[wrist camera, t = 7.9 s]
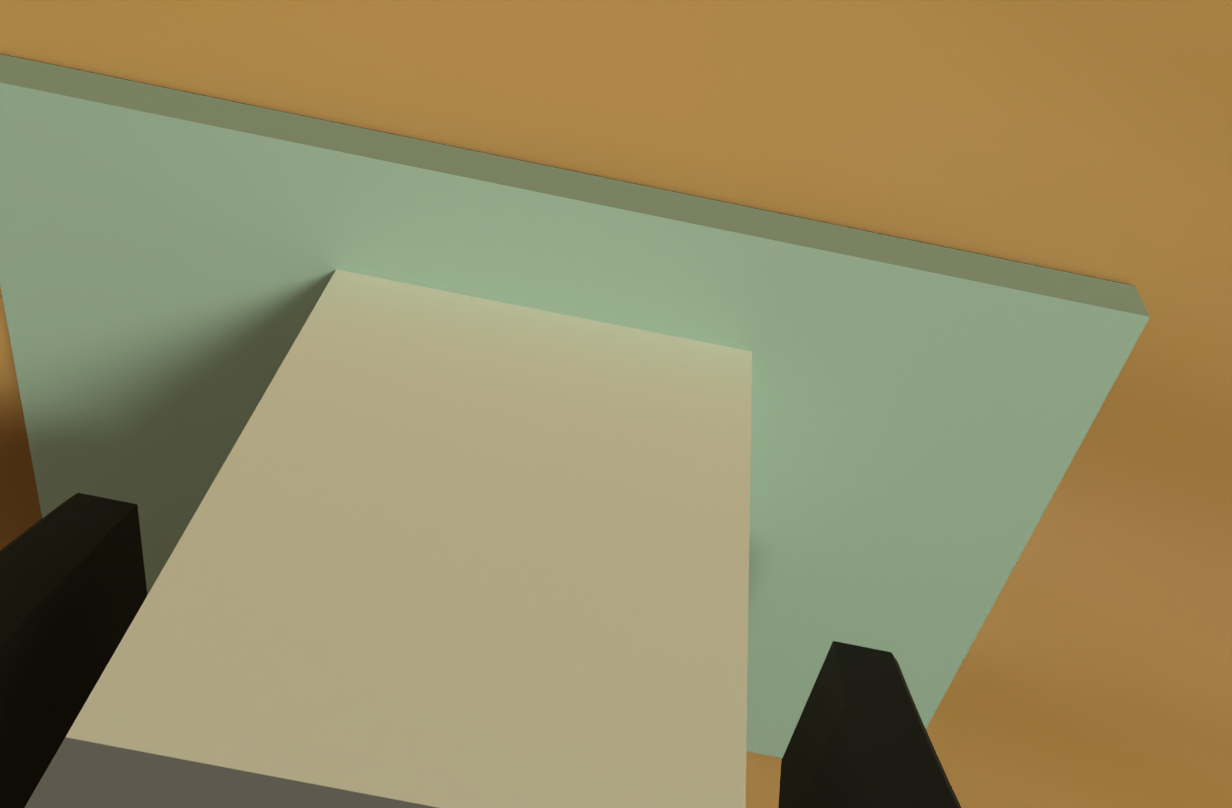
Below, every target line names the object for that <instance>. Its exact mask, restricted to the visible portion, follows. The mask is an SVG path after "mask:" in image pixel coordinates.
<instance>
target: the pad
mask: <svg viewBox="0 0 1232 808" xmlns="http://www.w3.org/2000/svg"><path fill="white" fill-rule="evenodd" d="M336 270H341V271H346V272H351V273H356V274H361V275H367V276H372V277H377V278H382V279H387V280H392V281H397V282H402V283H407V284H412V285H417V286H422V287H427V288H432V289H437V290H442V291H447V292H453V293H458V294H463V295H468V296H473V297H478V298H483V299H488V300H493V301H498V302H503V303H508V304H513V305H518V306H523V307H528V308H534V309H539V310H544V311H549V312H554V313H559V314H564V315H569V316H574V317H579V318H584V319H589V320H594V321H599V322H604V323H609V324H614V325H620V326H625V327H630V328H635V329H640V330H645V331H650V332H655V333H660V334H665V335H670V336H675V337H680V338H685V339H690V340H695V341H700V342H706V343H711V344H716V345H721V346H726V347H731V348H736V349H741V350H746V351H751V352H752V398H751V466H750V534H749V602H748V670H747V737H746V751H748V752H753V753H758V754H764V755H769V756H774V757H779V758H783V756H784V753H785V751H786V749H787V746H788V744H789V742H790V739H791V737H792V735H793V732H794V730H795V728H796V725H797V723H798V721H799V719H800V716H801V714H802V712H803V709H804V707H805V705H806V702H807V700H808V698H809V695H810V693H811V691H812V688H813V686H814V684H815V681H816V679H817V677H818V675H819V672H820V670H821V668H822V665H823V663H824V661H825V658H826V656H827V654H828V651H829V649H830V647H831V644H832V642H833V641H836V642H842V643H847V644H852V645H857V646H862V647H867V648H872V649H877V650H882V651H887V652H891V653H892V654H893V656H894V657H895V659H896V660H897V661H898V664H899V666H900V669H901V671H902V674H903V676H904V679H905V681H906V684H907V686H908V688H909V691H910V693H911V696H912V698H913V701H914V703H915V705H916V708H917V710H918V712H919V715H920V717H921V720H922V722H923V724H924V727H925V729H926V728H927V726H928V724H929V722H930V720H931V718H932V717H933V715H934V713H935V711H936V709H937V707H938V706H939V704H940V702H941V700H942V698H943V696H944V695H945V693H946V691H947V689H948V687H949V685H950V684H951V682H952V680H953V678H954V676H955V674H956V672H957V671H958V669H959V667H960V665H961V663H962V661H963V660H964V658H965V656H966V654H967V652H968V650H969V649H970V647H971V645H972V643H973V641H974V639H975V638H976V636H977V634H978V632H979V630H980V628H981V627H982V625H983V623H984V621H985V619H986V617H987V615H988V614H989V612H990V610H991V608H992V606H993V604H994V603H995V601H996V599H997V597H998V595H999V593H1000V592H1001V590H1002V588H1003V586H1004V584H1005V582H1006V581H1007V579H1008V577H1009V575H1010V573H1011V571H1012V570H1013V568H1014V566H1015V564H1016V562H1017V560H1018V558H1019V557H1020V555H1021V553H1022V551H1023V549H1024V547H1025V546H1026V544H1027V542H1028V540H1029V538H1030V536H1031V535H1032V533H1033V531H1034V529H1035V527H1036V525H1037V524H1038V522H1039V520H1040V518H1041V516H1042V514H1043V512H1044V511H1045V509H1046V507H1047V505H1048V503H1049V501H1050V500H1051V498H1052V496H1053V494H1054V492H1055V490H1056V489H1057V487H1058V485H1059V483H1060V481H1061V479H1062V478H1063V476H1064V474H1065V472H1066V470H1067V468H1068V467H1069V465H1070V463H1071V461H1072V459H1073V457H1074V455H1075V454H1076V452H1077V450H1078V448H1079V446H1080V444H1081V443H1082V441H1083V439H1084V437H1085V435H1086V433H1087V432H1088V430H1089V428H1090V426H1091V424H1092V422H1093V421H1094V419H1095V417H1096V415H1097V413H1098V411H1099V409H1100V408H1101V406H1102V404H1103V402H1104V400H1105V398H1106V397H1107V395H1108V393H1109V391H1110V389H1111V387H1112V386H1113V384H1114V382H1115V380H1116V378H1117V376H1118V375H1119V373H1120V371H1121V369H1122V367H1123V365H1124V364H1125V362H1126V360H1127V358H1128V356H1129V354H1130V352H1131V351H1132V349H1133V347H1134V345H1135V343H1136V341H1137V340H1138V338H1139V336H1140V334H1141V332H1142V330H1143V329H1144V327H1145V325H1146V323H1147V321H1148V319H1149V318H1150V316H1149V314H1148V312H1147V310H1146V308H1145V306H1144V304H1143V302H1142V300H1141V298H1140V296H1139V294H1138V292H1137V290H1136V288H1135V286H1132V285H1127V284H1122V283H1118V282H1113V281H1108V280H1103V279H1098V278H1093V277H1088V276H1083V275H1078V274H1074V273H1069V272H1064V271H1059V270H1054V269H1049V268H1044V267H1039V266H1034V265H1030V264H1025V263H1020V262H1015V261H1010V260H1005V259H1000V258H995V257H990V256H985V255H981V254H976V253H971V252H966V251H961V250H956V249H951V248H946V247H941V246H937V245H932V244H927V243H922V242H917V241H912V240H907V239H902V238H897V237H893V236H888V235H883V234H878V233H873V232H868V231H863V230H858V229H853V228H849V227H844V226H839V225H834V224H829V223H824V222H819V221H814V220H809V219H805V218H800V217H795V216H790V215H785V214H780V213H775V212H770V211H765V210H761V209H756V208H751V207H746V206H741V205H736V204H731V203H726V202H721V201H717V200H712V199H707V198H702V197H697V196H692V195H687V194H682V193H677V192H673V191H668V190H663V189H658V188H653V187H648V186H643V185H638V184H633V183H628V182H624V181H619V180H614V179H609V178H604V177H599V176H594V175H589V174H584V173H580V172H575V171H570V170H565V169H560V168H555V167H550V166H545V165H540V164H536V163H531V162H526V161H521V160H516V159H511V158H506V157H501V156H496V155H492V154H487V153H482V152H477V151H472V150H467V149H462V148H457V147H452V146H448V145H443V144H438V143H433V142H428V141H423V140H418V139H413V138H408V137H404V136H399V135H394V134H389V133H384V132H379V131H374V130H369V129H364V128H360V127H355V126H350V125H345V124H340V123H335V122H330V121H325V120H320V119H315V118H311V117H306V116H301V115H296V114H291V113H286V112H281V111H276V110H271V109H267V108H262V107H257V106H252V105H247V104H242V103H237V102H232V101H227V100H223V99H218V98H213V97H208V96H203V95H198V94H193V93H188V92H183V91H179V90H174V89H169V88H164V87H159V86H154V85H149V84H144V83H139V82H135V81H130V80H125V79H120V78H115V77H110V76H105V75H100V74H95V73H91V72H86V71H81V70H76V69H71V68H66V67H61V66H56V65H51V64H47V63H42V62H37V61H32V60H27V59H22V58H17V57H12V56H7V55H2V54H0V287H1V292H2V298H3V304H4V309H5V315H6V320H7V326H8V331H9V337H10V342H11V348H12V353H13V359H14V365H15V370H16V376H17V381H18V387H19V392H20V398H21V403H22V409H23V414H24V420H25V426H26V431H27V437H28V442H29V448H30V453H31V459H32V464H33V470H34V475H35V481H36V487H37V492H38V498H39V503H40V509H41V514H42V518H43V517H45V516H46V515H47V514H49V513H50V512H51V511H53V510H54V509H55V508H57V507H58V506H59V505H61V504H62V503H63V502H65V501H66V500H67V499H69V498H70V497H72V496H73V495H75V494H77V493H82V494H88V495H93V496H98V497H103V498H108V499H113V500H118V501H123V502H128V503H133V504H137V506H138V515H139V524H140V533H141V542H142V551H143V560H144V569H145V578H146V587H147V595H148V594H149V592H150V590H151V588H152V587H153V585H154V583H155V582H156V580H157V578H158V576H159V575H160V573H161V571H162V569H163V568H164V566H165V564H166V563H167V561H168V559H169V557H170V556H171V554H172V552H173V550H174V549H175V547H176V545H177V544H178V542H179V540H180V538H181V537H182V535H183V533H184V531H185V530H186V528H187V526H188V525H189V523H190V521H191V519H192V518H193V516H194V514H195V513H196V511H197V509H198V507H199V506H200V504H201V502H202V500H203V499H204V497H205V495H206V494H207V492H208V490H209V488H210V487H211V485H212V483H213V481H214V480H215V478H216V476H217V475H218V473H219V471H220V469H221V468H222V466H223V464H224V462H225V461H226V459H227V457H228V456H229V454H230V452H231V450H232V449H233V447H234V445H235V443H236V442H237V440H238V438H239V437H240V435H241V433H242V431H243V430H244V428H245V426H246V424H247V423H248V421H249V419H250V418H251V416H252V414H253V412H254V411H255V409H256V407H257V405H258V404H259V402H260V400H261V399H262V397H263V395H264V393H265V392H266V390H267V388H268V386H269V385H270V383H271V381H272V380H273V378H274V376H275V374H276V373H277V371H278V369H279V367H280V366H281V364H282V362H283V361H284V359H285V357H286V355H287V354H288V352H289V350H290V348H291V347H292V345H293V343H294V342H295V340H296V338H297V336H298V335H299V333H300V331H301V329H302V328H303V326H304V324H305V323H306V321H307V319H308V317H309V316H310V314H311V312H312V310H313V309H314V307H315V305H316V304H317V302H318V300H319V298H320V297H321V295H322V293H323V291H324V290H325V288H326V286H327V285H328V283H329V281H330V279H331V278H332V276H333V274H334V272H335V271H336Z"/></svg>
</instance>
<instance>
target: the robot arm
mask: <svg viewBox="0 0 1232 808" xmlns="http://www.w3.org/2000/svg"><path fill="white" fill-rule="evenodd" d="M146 597H147V587H146V578H145V569H144V560H143V551H142V542H141V533H140V524H139V515H138V506H137V504H133V503H128V502H123V501H118V500H113V499H108V498H103V497H98V496H93V495H88V494H82V493H77V494H75V495H73V496H72V497H70V498H69V499H67V500H66V501H65V502H63V503H62V504H61V505H59V506H58V507H57V508H55V509H54V510H53V511H51V512H50V513H49V514H47V515H46V516H45V517H43V518H42V519H41V520H40V521H38V522H37V523H36V524H34V525H33V526H32V527H30V528H29V529H28V530H27V531H25V532H24V533H23V534H21V535H20V536H19V537H17V538H16V539H15V540H14V541H12V542H11V543H10V544H8V545H7V546H6V547H4V548H3V549H2V550H1V551H0V808H25V806H26V804H27V803H28V801H29V799H30V797H31V796H32V794H33V792H34V791H35V789H36V787H37V785H38V784H39V782H40V780H41V778H42V777H43V775H44V773H45V772H46V770H47V768H48V766H49V765H50V763H51V761H52V759H53V758H54V756H55V754H56V753H57V751H58V749H59V747H60V746H61V744H62V742H63V740H64V739H65V737H66V735H67V734H68V732H69V730H70V728H71V727H72V725H73V723H74V721H75V720H76V718H77V716H78V715H79V713H80V711H81V709H82V708H83V706H84V704H85V702H86V701H87V699H88V697H89V696H90V694H91V692H92V690H93V689H94V687H95V685H96V683H97V682H98V680H99V678H100V677H101V675H102V673H103V671H104V670H105V668H106V666H107V664H108V663H109V661H110V659H111V658H112V656H113V654H114V652H115V651H116V649H117V647H118V645H119V644H120V642H121V640H122V639H123V637H124V635H125V633H126V632H127V630H128V628H129V626H130V625H131V623H132V621H133V620H134V618H135V616H136V614H137V613H138V611H139V609H140V607H141V606H142V604H143V602H144V601H145V599H146ZM779 808H961V806H960V804H959V802H958V800H957V798H956V796H955V793H954V791H953V789H952V787H951V785H950V783H949V781H948V778H947V776H946V774H945V772H944V770H943V767H942V765H941V763H940V761H939V758H938V756H937V754H936V752H935V749H934V747H933V745H932V743H931V740H930V738H929V736H928V734H927V731H926V729H925V727H924V724H923V722H922V720H921V717H920V715H919V712H918V710H917V708H916V705H915V703H914V701H913V698H912V696H911V693H910V691H909V688H908V686H907V684H906V681H905V679H904V676H903V674H902V671H901V669H900V666H899V664H898V661H897V660H896V659H895V657H894V656H893V654H892V653H891V652H887V651H882V650H877V649H872V648H867V647H862V646H857V645H852V644H847V643H842V642H836V641H833V642H832V644H831V647H830V649H829V651H828V654H827V656H826V658H825V661H824V663H823V665H822V668H821V670H820V672H819V675H818V677H817V679H816V681H815V684H814V686H813V688H812V691H811V693H810V695H809V698H808V700H807V702H806V705H805V707H804V709H803V712H802V714H801V716H800V719H799V721H798V723H797V725H796V728H795V730H794V732H793V735H792V737H791V739H790V742H789V744H788V746H787V749H786V751H785V753H784V756H783V758H782V763H781V778H780V794H779Z"/></svg>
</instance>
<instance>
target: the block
mask: <svg viewBox="0 0 1232 808" xmlns="http://www.w3.org/2000/svg"><path fill="white" fill-rule="evenodd" d="M751 398H752V352H751V351H746V350H741V349H736V348H731V347H726V346H721V345H716V344H711V343H706V342H700V341H695V340H690V339H685V338H680V337H675V336H670V335H665V334H660V333H655V332H650V331H645V330H640V329H635V328H630V327H625V326H620V325H614V324H609V323H604V322H599V321H594V320H589V319H584V318H579V317H574V316H569V315H564V314H559V313H554V312H549V311H544V310H539V309H534V308H528V307H523V306H518V305H513V304H508V303H503V302H498V301H493V300H488V299H483V298H478V297H473V296H468V295H463V294H458V293H453V292H447V291H442V290H437V289H432V288H427V287H422V286H417V285H412V284H407V283H402V282H397V281H392V280H387V279H382V278H377V277H372V276H367V275H361V274H356V273H351V272H346V271H341V270H336V271H335V272H334V274H333V276H332V278H331V279H330V281H329V283H328V285H327V286H326V288H325V290H324V291H323V293H322V295H321V297H320V298H319V300H318V302H317V304H316V305H315V307H314V309H313V310H312V312H311V314H310V316H309V317H308V319H307V321H306V323H305V324H304V326H303V328H302V329H301V331H300V333H299V335H298V336H297V338H296V340H295V342H294V343H293V345H292V347H291V348H290V350H289V352H288V354H287V355H286V357H285V359H284V361H283V362H282V364H281V366H280V367H279V369H278V371H277V373H276V374H275V376H274V378H273V380H272V381H271V383H270V385H269V386H268V388H267V390H266V392H265V393H264V395H263V397H262V399H261V400H260V402H259V404H258V405H257V407H256V409H255V411H254V412H253V414H252V416H251V418H250V419H249V421H248V423H247V424H246V426H245V428H244V430H243V431H242V433H241V435H240V437H239V438H238V440H237V442H236V443H235V445H234V447H233V449H232V450H231V452H230V454H229V456H228V457H227V459H226V461H225V462H224V464H223V466H222V468H221V469H220V471H219V473H218V475H217V476H216V478H215V480H214V481H213V483H212V485H211V487H210V488H209V490H208V492H207V494H206V495H205V497H204V499H203V500H202V502H201V504H200V506H199V507H198V509H197V511H196V513H195V514H194V516H193V518H192V519H191V521H190V523H189V525H188V526H187V528H186V530H185V531H184V533H183V535H182V537H181V538H180V540H179V542H178V544H177V545H176V547H175V549H174V550H173V552H172V554H171V556H170V557H169V559H168V561H167V563H166V564H165V566H164V568H163V569H162V571H161V573H160V575H159V576H158V578H157V580H156V582H155V583H154V585H153V587H152V588H151V590H150V592H149V594H148V595H147V597H146V599H145V601H144V602H143V604H142V606H141V607H140V609H139V611H138V613H137V614H136V616H135V618H134V620H133V621H132V623H131V625H130V626H129V628H128V630H127V632H126V633H125V635H124V637H123V639H122V640H121V642H120V644H119V645H118V647H117V649H116V651H115V652H114V654H113V656H112V658H111V659H110V661H109V663H108V664H107V666H106V668H105V670H104V671H103V673H102V675H101V677H100V678H99V680H98V682H97V683H96V685H95V687H94V689H93V690H92V692H91V694H90V696H89V697H88V699H87V701H86V702H85V704H84V706H83V708H82V709H81V711H80V713H79V715H78V716H77V718H76V720H75V721H74V723H73V725H72V727H71V728H70V730H69V732H68V734H67V735H66V737H65V739H64V740H63V742H62V744H61V746H60V747H59V749H58V751H57V753H56V754H55V756H54V758H53V759H52V761H51V763H50V765H49V766H48V768H47V770H46V772H45V773H44V775H43V777H42V778H41V780H40V782H39V784H38V785H37V787H36V789H35V791H34V792H33V794H32V796H31V797H30V799H29V801H28V803H27V804H26V806H25V808H745V805H746V737H747V670H748V602H749V534H750V466H751Z"/></svg>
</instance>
